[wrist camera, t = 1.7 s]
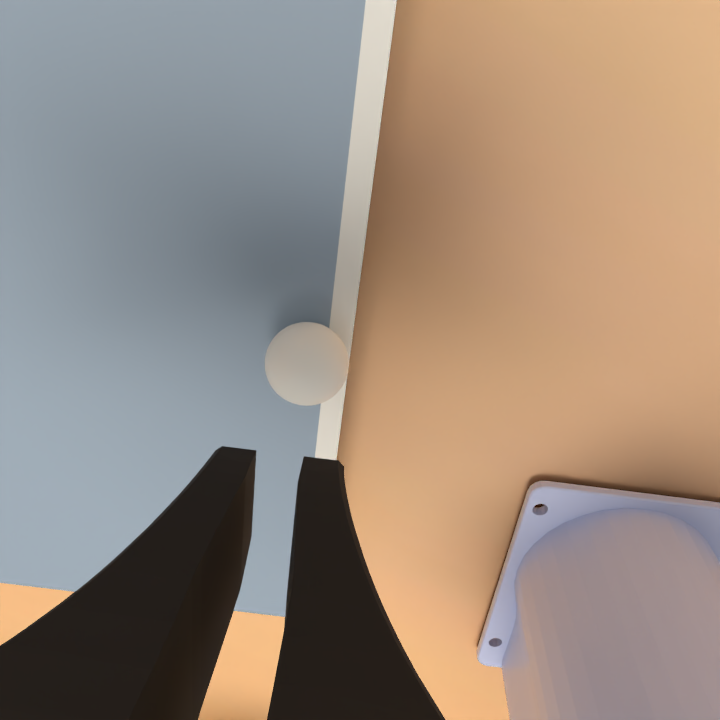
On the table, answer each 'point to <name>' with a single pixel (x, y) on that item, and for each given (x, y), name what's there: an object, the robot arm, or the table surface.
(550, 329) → the table surface
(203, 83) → the lid
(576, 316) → the table surface
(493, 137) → the table surface
